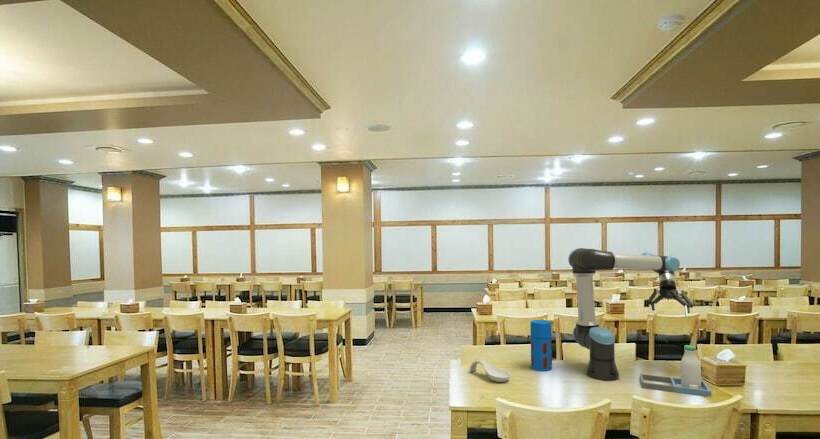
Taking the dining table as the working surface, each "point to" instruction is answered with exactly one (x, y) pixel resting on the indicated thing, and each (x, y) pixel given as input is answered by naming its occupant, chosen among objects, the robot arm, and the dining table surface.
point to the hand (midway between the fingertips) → (671, 316)
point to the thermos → (541, 345)
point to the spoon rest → (492, 371)
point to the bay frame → (673, 385)
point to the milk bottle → (690, 368)
